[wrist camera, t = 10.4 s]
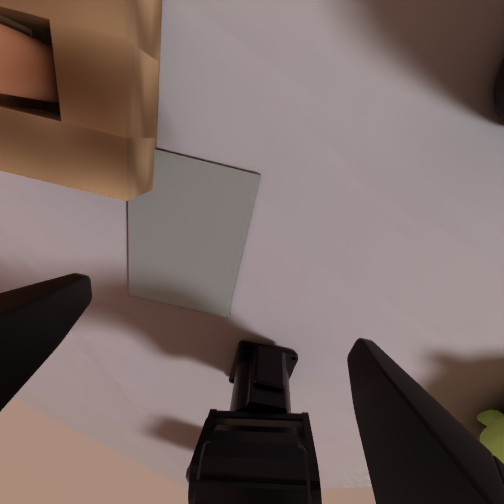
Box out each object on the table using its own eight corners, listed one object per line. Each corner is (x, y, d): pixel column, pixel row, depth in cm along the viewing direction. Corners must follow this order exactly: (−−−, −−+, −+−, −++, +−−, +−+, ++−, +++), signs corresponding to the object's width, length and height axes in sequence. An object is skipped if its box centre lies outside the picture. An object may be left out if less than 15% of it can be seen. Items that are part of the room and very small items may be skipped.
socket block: (154, 188, 19) (127, 200, 15) (3, 152, 18) (-62, 155, 15) (162, -17, 14) (123, -74, 10) (-48, -74, 13) (-167, -153, 10)
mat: (228, 315, 24) (227, 317, 24) (130, 293, 24) (128, 295, 23) (260, 174, 18) (260, 175, 17) (129, 142, 17) (127, 142, 17)
